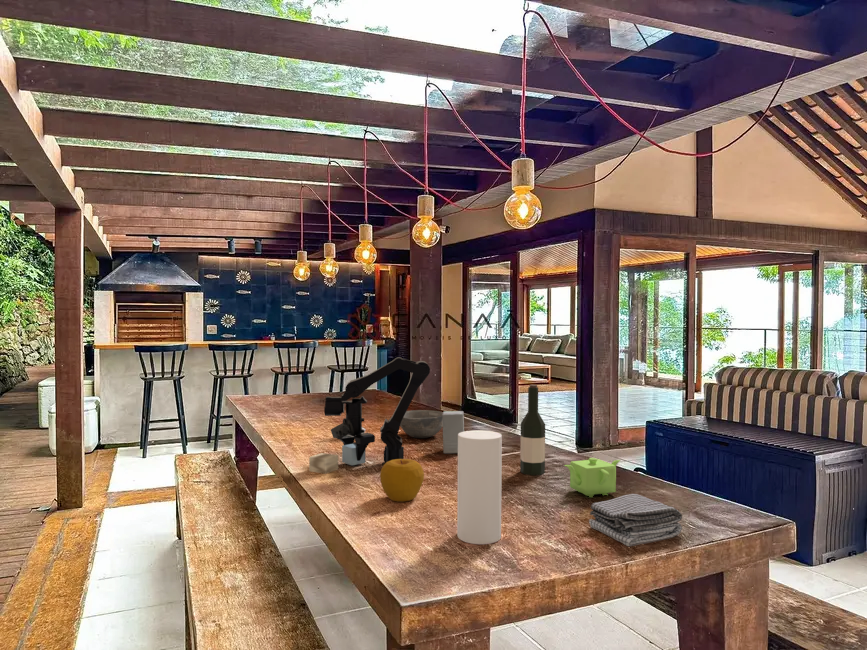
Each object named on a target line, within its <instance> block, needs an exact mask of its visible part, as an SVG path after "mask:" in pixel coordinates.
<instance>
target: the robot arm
mask: <svg viewBox="0 0 867 650" xmlns="http://www.w3.org/2000/svg"><path fill="white" fill-rule="evenodd" d="M398 370H400V371H401V370H402V371H404V372H408V373H411V375H410V378H409V380H408V381H409V382H408V384H407V386H406V388H405V390H404V392H403V394H402V396H401V398H400V400H399V402H398V404H397V406H396V408H395V410H394V411H393V414H392V415H391V417H390V418H389V419H387V418H385V419H384V422H383V424H382V426H380V430H379V431H380V440H381V442H382V443H384V444H385V446H384V449H383V462H381V464H382V465H384V464H385V463H386V462H388V461H390V460H394V459H405V453H404V451H405V450H404V449H405V448H404V446H403V438H402V437H401V436H400V435H399V431H400V429H401V426H400V424H401V421H402V419H403V417H404V415H405V413H406V411H408V409H409V407H410V405H411V403H412V401H413V398H414V397H415V396H416V393H417V391H418V389H419V388H420V387H421V385H422V384H423V382H424V381H425V380H426V379H427V378H428V376H429V374H430V372H431V367H430V365H429V364H428V363H427V362H426V361H425V360H419V361H413V360H409V359H406V358H402V357H401V356H400V357H396V358H394V359H393V360H392V361H390V362H388V363H386V364H384V365H383V366H381V367H379V368H378V369H376V370H374V371H372V372H370V373H369V374H367V375H363V376H360V377H357V378H355V379H351V380H349V382H347V384H346V386H345V389H344V390H345V391H344V393H342V394H341V396H326V397H325V403H324V407H323V408H324V413H323V414H324V416H325V417H326V416H327V417H332V416H333V417H337V416H339V417H341V416H342V414H344V413H345V417H344V418H343V419H342V423H340V424H337V425H335V426H334V427H332V428H331V429H330V432H331V435H332V438H333V439H336V440H339V441H340V442H341V443H342V444H343V445H348V444H354V445H355V446H356V456H357V461H360V460H361V458H362V455H363V453H364V451H365V449H366V450H367V447H368V445H369V444H371V443H375V442H376V436H375V435H374V434H373V433H370V432H364V430H363V429H362V427H363V426H362V425H363V423H362V422H365V418H363V417H362V416H363V404H367V402H368V400H367V399H366V398H365V397H364V395H363V396H362V395H361V394H363V393H364V392H365V391H366V390H367V389H369V388H370V387H371V386H372V385H374V384H376V383H377V382H380V381H381V380H383V379H385V378H386V377H387V376H389V375H391V374H393V373H395V372H397V371H398ZM360 395H361V397H359V396H360ZM357 397H359V398H357ZM351 398H352V399H351ZM349 399H351V400H349ZM361 433H362V434H361Z"/></svg>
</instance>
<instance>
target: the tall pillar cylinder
mask: <svg viewBox="0 0 867 650" xmlns="http://www.w3.org/2000/svg"><path fill="white" fill-rule="evenodd" d="M502 440H503V435H502V433H500V432H497V431H492V430H478V429H477V430H466V431H465V430H464V432H461V433H459V434H458V453H457V508H456V509H457V512H456V513H457V514H456V515H457V518H456V520H457V523H456V525H457V527H456V528H457V529H456V530H457V533H456V535H457V538H458V539H459V540H460V541H463V542H464V543H467V544H472V545H489V544H495V543H496V542H498V541H500V539H501V538H502V470H503V469H502V468H503V467H502V460H503V459H502V458H503V457H502V455H503V453H502V452H503V451H502V450H503V449H502V448H503V447H502V446H503V445H502V444H503V443H502V442H503V441H502Z"/></svg>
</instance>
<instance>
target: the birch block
mask: <svg viewBox="0 0 867 650" xmlns="http://www.w3.org/2000/svg"><path fill="white" fill-rule="evenodd" d="M308 460H309V461H308V462H309V464H308V465H309V468H308V469H309V470H308V471H309V472H311V473H318V474H325V475H326V474H329V473H332V472H334V471H337V470H339V454H332V453H325V452H321V453H318V454H315V455H311V456H309V459H308Z"/></svg>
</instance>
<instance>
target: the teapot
mask: <svg viewBox="0 0 867 650" xmlns="http://www.w3.org/2000/svg"><path fill="white" fill-rule="evenodd" d="M620 462H621V460H620V459H615V460H613V461H612V462H611V463H610V462H608V461H605V460H602V459H599V458H596V457H588V459H584V460H575V461H574V460H572V461H570V462H569V464H564V467H566V468H567V469H568V471H569V487H570V488H571V489H573V490H574V491H578V493H581V494H583V495H585V496H586V497H587V496H589V497H588V498H594V497H595V495H601V494H602V495H601V496H604V495H607V496H609V493H610V494H611V493H616V492H617V486H616V484H617V465H618V463H620ZM593 496H594V497H593Z"/></svg>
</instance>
